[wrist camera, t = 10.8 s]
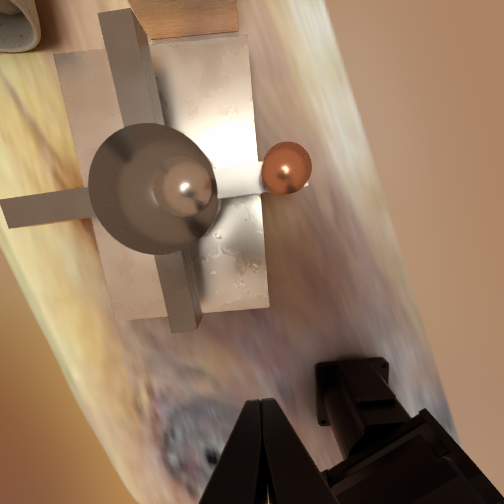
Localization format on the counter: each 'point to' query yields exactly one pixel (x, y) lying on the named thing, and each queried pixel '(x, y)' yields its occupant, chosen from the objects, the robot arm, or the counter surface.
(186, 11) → the stand
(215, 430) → the counter surface
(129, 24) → the capstan
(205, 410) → the counter surface
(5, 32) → the ceramic mug
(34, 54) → the counter surface
